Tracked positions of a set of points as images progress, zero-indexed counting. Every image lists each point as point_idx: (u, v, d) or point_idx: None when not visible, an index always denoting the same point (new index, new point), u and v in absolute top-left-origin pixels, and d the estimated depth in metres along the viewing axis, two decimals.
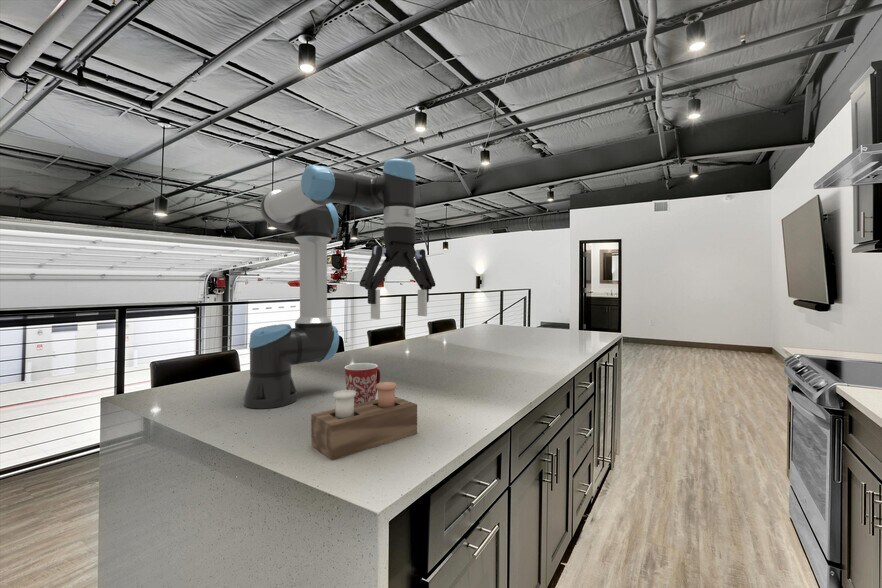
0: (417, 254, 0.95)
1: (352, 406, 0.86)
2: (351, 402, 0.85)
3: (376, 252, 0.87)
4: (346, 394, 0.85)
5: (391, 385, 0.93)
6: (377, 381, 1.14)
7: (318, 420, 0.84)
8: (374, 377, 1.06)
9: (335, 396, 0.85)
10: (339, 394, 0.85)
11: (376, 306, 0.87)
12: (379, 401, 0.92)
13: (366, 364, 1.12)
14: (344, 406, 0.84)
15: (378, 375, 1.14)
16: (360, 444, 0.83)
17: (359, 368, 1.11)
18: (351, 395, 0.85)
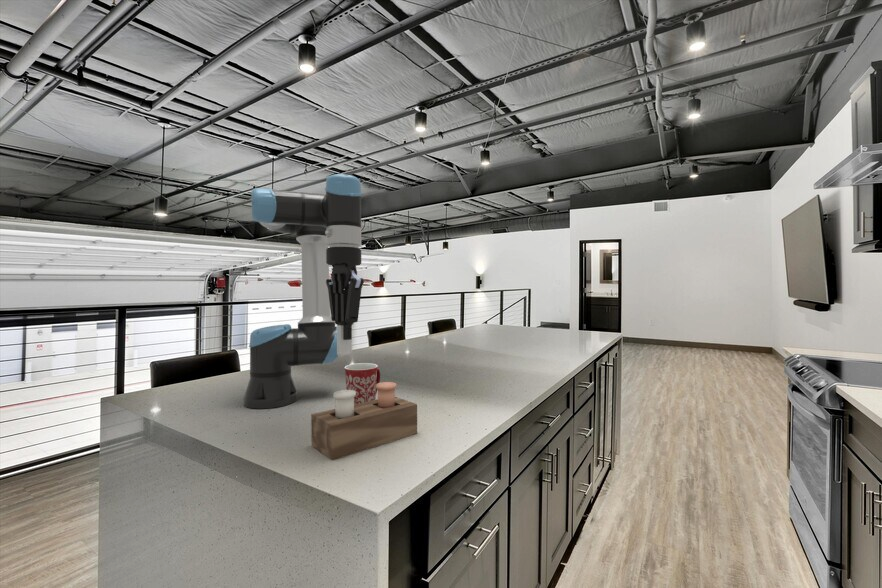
0: None
1: (352, 406, 0.86)
2: (351, 402, 0.85)
3: None
4: (346, 394, 0.85)
5: (391, 385, 0.93)
6: (377, 381, 1.14)
7: (318, 420, 0.84)
8: (374, 377, 1.06)
9: (335, 396, 0.85)
10: (339, 394, 0.85)
11: None
12: (379, 401, 0.92)
13: (366, 364, 1.12)
14: (344, 406, 0.84)
15: (378, 375, 1.14)
16: (360, 444, 0.83)
17: (359, 368, 1.11)
18: (351, 395, 0.85)
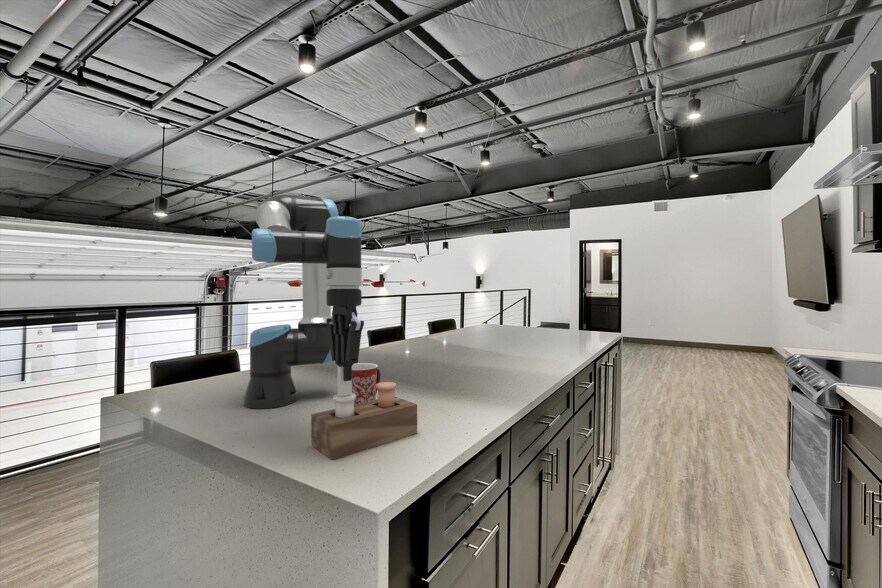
0: None
1: (352, 409, 0.86)
2: (351, 405, 0.85)
3: None
4: (346, 397, 0.85)
5: (391, 385, 0.93)
6: (377, 381, 1.14)
7: (318, 420, 0.84)
8: (374, 377, 1.06)
9: (335, 399, 0.85)
10: (339, 397, 0.85)
11: None
12: (379, 401, 0.92)
13: (366, 364, 1.12)
14: (344, 410, 0.84)
15: (378, 375, 1.14)
16: (360, 444, 0.83)
17: (359, 368, 1.11)
18: (351, 398, 0.85)
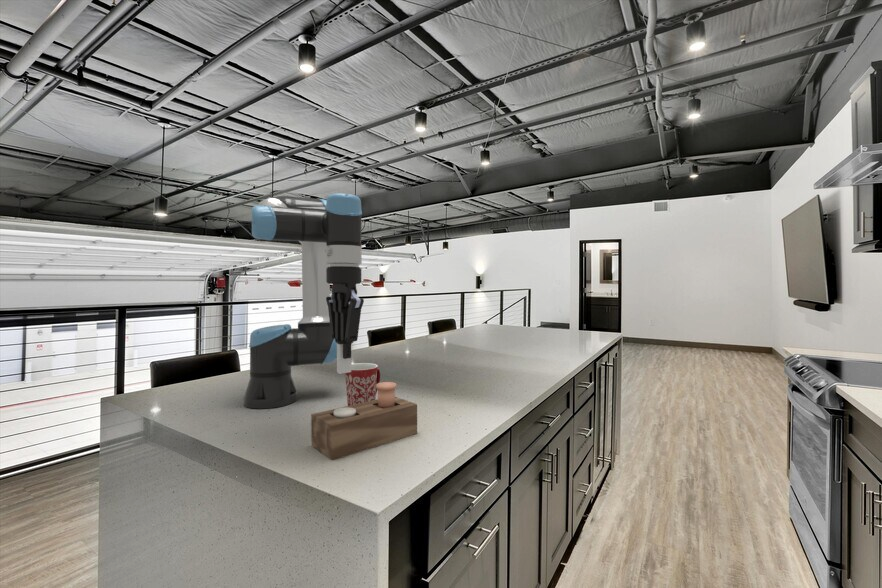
0: None
1: None
2: None
3: None
4: (346, 412, 0.85)
5: (391, 385, 0.93)
6: (377, 381, 1.14)
7: (318, 420, 0.84)
8: (374, 377, 1.06)
9: (335, 415, 0.85)
10: (339, 412, 0.85)
11: None
12: (379, 401, 0.92)
13: (366, 364, 1.12)
14: None
15: (378, 375, 1.14)
16: (360, 444, 0.83)
17: (359, 368, 1.11)
18: (351, 413, 0.85)
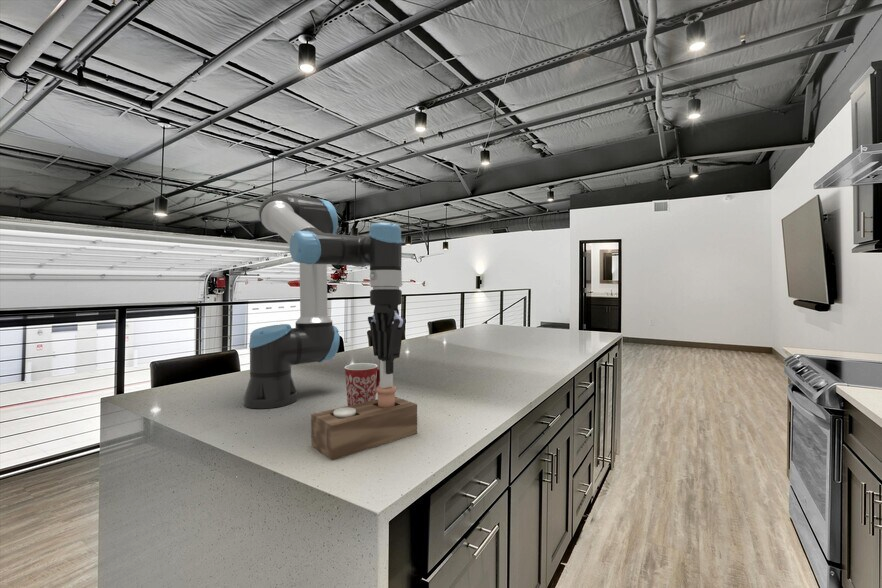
0: (395, 320, 0.90)
1: None
2: None
3: None
4: (346, 412, 0.85)
5: (391, 388, 0.93)
6: (377, 381, 1.14)
7: (318, 420, 0.84)
8: (374, 377, 1.06)
9: (335, 415, 0.85)
10: (339, 412, 0.85)
11: None
12: (379, 404, 0.92)
13: (366, 364, 1.12)
14: None
15: (378, 375, 1.14)
16: (360, 444, 0.83)
17: (359, 368, 1.11)
18: (351, 413, 0.85)
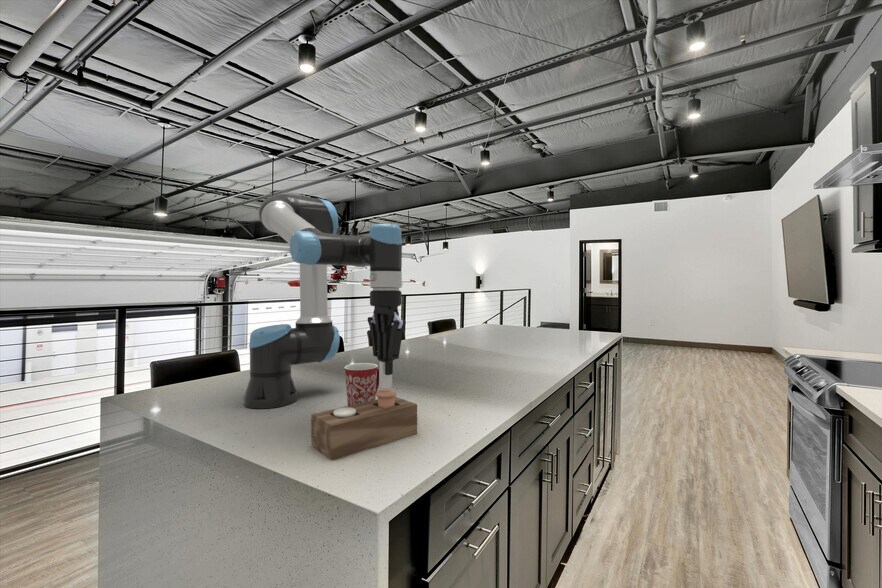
0: (394, 321, 0.90)
1: None
2: None
3: None
4: (346, 412, 0.85)
5: (391, 392, 0.93)
6: (377, 381, 1.14)
7: (318, 420, 0.84)
8: (374, 377, 1.06)
9: (335, 415, 0.85)
10: (339, 412, 0.85)
11: None
12: None
13: (366, 364, 1.12)
14: None
15: (378, 375, 1.14)
16: (360, 444, 0.83)
17: (359, 368, 1.11)
18: (351, 413, 0.85)
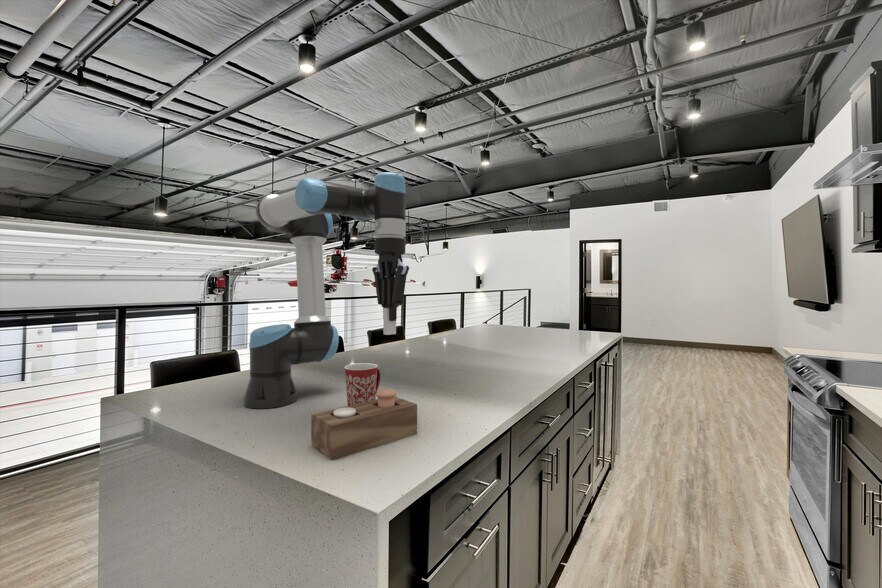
0: None
1: None
2: None
3: None
4: (346, 412, 0.85)
5: (391, 392, 0.93)
6: (377, 381, 1.14)
7: (318, 420, 0.84)
8: (374, 377, 1.06)
9: (335, 415, 0.85)
10: (339, 412, 0.85)
11: None
12: None
13: (366, 364, 1.12)
14: None
15: (378, 375, 1.14)
16: (360, 444, 0.83)
17: (359, 368, 1.11)
18: (351, 413, 0.85)
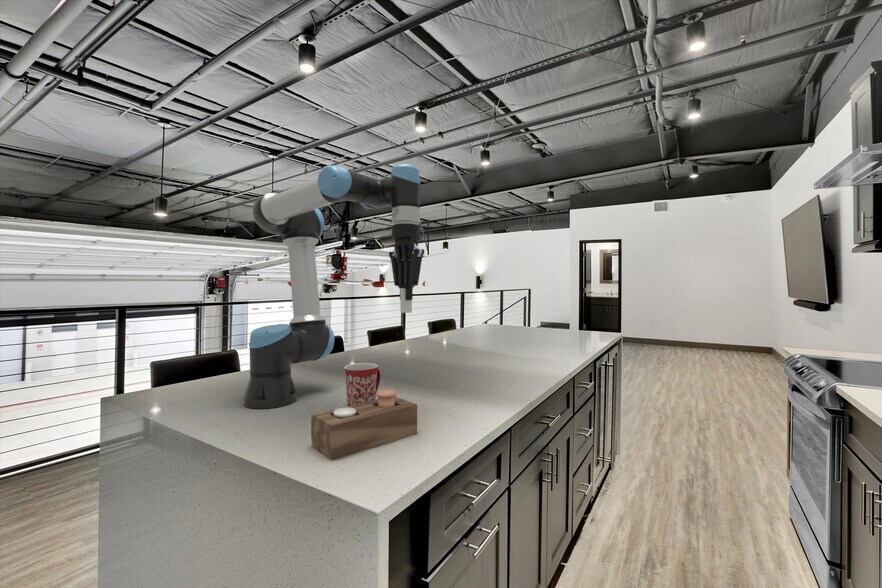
0: None
1: None
2: None
3: None
4: (346, 412, 0.85)
5: (391, 392, 0.93)
6: (377, 381, 1.14)
7: (318, 420, 0.84)
8: (374, 377, 1.06)
9: (335, 415, 0.85)
10: (339, 412, 0.85)
11: None
12: None
13: (366, 364, 1.12)
14: None
15: (378, 375, 1.14)
16: (360, 444, 0.83)
17: (359, 368, 1.11)
18: (351, 413, 0.85)
